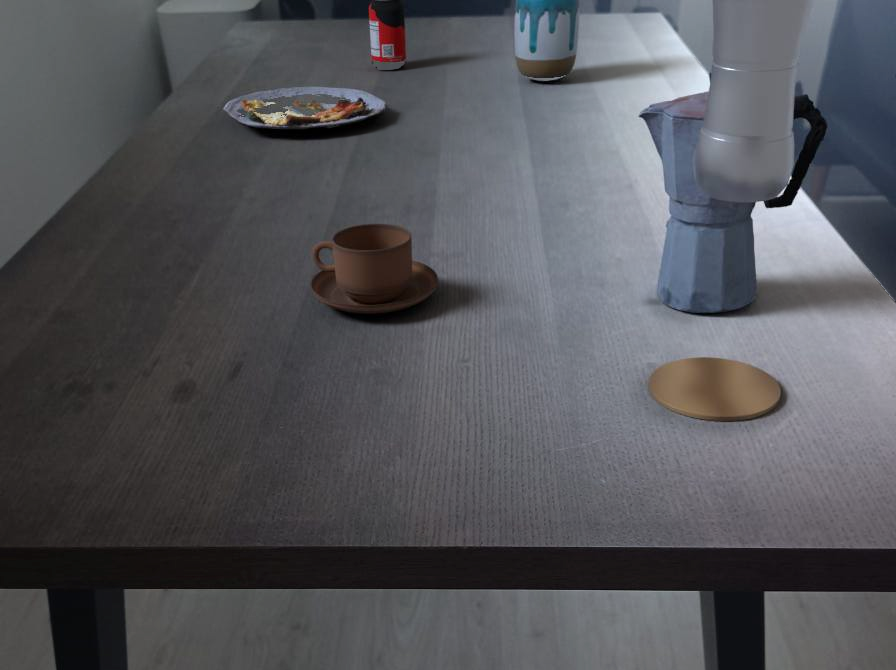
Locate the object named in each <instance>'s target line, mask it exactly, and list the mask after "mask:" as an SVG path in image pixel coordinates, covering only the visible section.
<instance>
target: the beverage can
mask: <svg viewBox="0 0 896 670" xmlns="http://www.w3.org/2000/svg"><path fill="white" fill-rule="evenodd" d="M368 19H369V21H368V22H369V36H370V38H369V39H370V57H371V61H372V60H375V61H380V62H400V61H404V60H405V59H406V60H407V48H406V47H407V45H406V43H407V42H406V23H405V21H406V20H405V19H406V18H405V6H404V3H403V2H402V1H401V0H371V2H370V4H369V6H368Z"/></svg>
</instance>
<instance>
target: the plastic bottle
mask: <svg viewBox="0 0 896 670" xmlns="http://www.w3.org/2000/svg"><path fill="white" fill-rule="evenodd" d="M813 3H814V0H712V18H713V19H712V23H713V27H712V28H713V31H712V32H713V33H712V38H713V39H712V52H711V53H712V56H713V58H712V61H711V72H710V73H711V81H710V80H709V88H708V91H709V93H708V98H707V104H706V109H705V115H704V120H703V127H702V128H701V131H700V134H699V137H698V140H697V144H696V149H695V153H694V157H693V167H694V179H695V182H696V184H697V186H698V188H699V189H700V191H701V192H702V193H703V194H704V195H706V196H708V197H711V198H714V199H718V200H723V201H730V202H756V203H759V202H764V201H766V200H770V199H773V198H775V197H779V196H780V194H781V193H783V192H784V190H785V188H786V186H787V185H788V183H789V181H790V179H791V175H792V173H793V170H794V167H795V134H794V131H793V127H794V120H793V114H794V97H796V96H795V95H796V80H797V73H798V67H799V62H798V61H799V58H800V57H801V53H802V47H803V42H804V37H805V33H806V32H805V31H806V28H807V24H808V21H809V18H810V14H811V10H812V6H813Z"/></svg>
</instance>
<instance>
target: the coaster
mask: <svg viewBox="0 0 896 670" xmlns="http://www.w3.org/2000/svg"><path fill="white" fill-rule="evenodd" d="M648 392H649V394H650V395H651V397H652V398H653V399H654V400H655V401H656V403H658V404H660V406H662V407H664V408H666V409H668V410H670V411H672V412H674V413H677V414H679V415H681V416H682V415H683V416H686V417H689V418H693V419H694V418H695V419H699V420H704V421H714V422H733V421H734V422H735V421H744V420H750V419H754V418H757V417H760V416H764V415H765V414H767V413H769V412H771V411H772V410H774V409H775V408H776V407H777V406H778V404H779V402H780V401H781V395H782V389H781V386H780V384H779V382H778V381H777V380H776V378H774V377H773V376H772V375H771V374H769V373H768V372H766V371H765V370H763V369H760V368H759V367H757V366H754V365H752V364H750V363H749V364H748V363H746V362H742V361H738V360H733V359H729V358H720V357H703V356H702V357H701V356H700V357H687V358H682V359H677V360H673V361H670V362H667V363H664V364H662V365H661V366H659V367H657V368H656V369H654V370H653V371H652V373H651V374H650V376H649V378H648Z"/></svg>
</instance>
